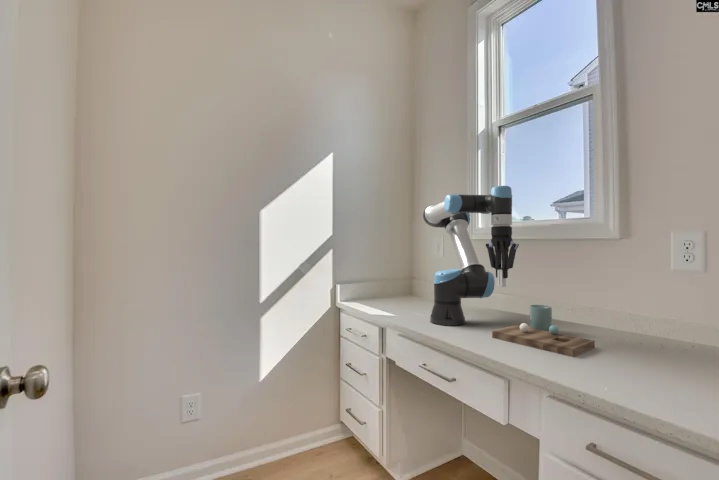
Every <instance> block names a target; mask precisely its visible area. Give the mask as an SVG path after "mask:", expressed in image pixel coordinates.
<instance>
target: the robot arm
mask: <svg viewBox="0 0 719 480" xmlns="http://www.w3.org/2000/svg"><path fill="white" fill-rule="evenodd" d="M512 191H513V190H512V187H511V186H509V185H497V186H493V187H492V188H491V191H490V194H457V193H454V194H447V195H446V196H445V198H444V201H441V202H440V203H438V204H431V205H429V206H427V207H425V208H424V210H423V212H422V218H423V220H424V222H425V224H427V225H428V226H430V227H432V228H444V229H445V232H446V233H447V234H448V235H450V238H451V241H452V244H453V247H454V250H455V254H456V257H457V259H458V260H457V261H458V263H459V266H460V268H453V269H451V268H450V269H443V270H438V271H436V272H435V273H434V277H433V288H434V289H433V294H434V296H433V299H434V300H433V302H434V303H433V306H432V310H431V313H430V315H429V316H430V323H432V324H435V325H439V326H454V327H455V326H462V325H464V324H466V316H465V315H464V314H465V313H464V312H463V308H462V299H483V298H484V299H485V298H490V297H491V295H493V293H494V290H495V286H496V285H495V283H496V282H495V278H497V287H500V288H505V287H507V279H508V278H509V275H508V273H509V272H508V271H509V269H513V268H514V263H515V258H516V252H517V250H518V248H519V247H520V246H519V243H517V242H514V240H513V238H512V237H513V227H512V225H513V215H512V214H513V195H512V194H513V193H512ZM470 214H481V215H482V214H483V215H484V214H485V215H488V214H490V216H491V217H490V218H491V219H490V220H491V222H490V223H491V228H490V231H491V239H490V241H489V243H485V247H486V249H487V253H488V254H487V255H488V258H489V263H490V268H493V269H495V277H494V273H493V272H491V271H486V268H485V265H483V264H482V263H480V262H479V259H478V256H477V254H476V251H475V247H474V245H473V243H472V240H471V237H470V234H469V232H468V227H469V225H470V222H471V217H470V216H471V215H470Z"/></svg>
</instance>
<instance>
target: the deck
mask: <svg viewBox="0 0 719 480" xmlns="http://www.w3.org/2000/svg"><path fill="white" fill-rule="evenodd" d="M491 338H493V339H496V340H501V341H505V342H508V343H509V342H510V343H512V344H513V343H514V344H517V345H522V346H525V347H526V346H527V347H530V348H535V349H537V350H541V351H542V350H543V351H547V352H550V353H556V354H560V355H563V356H567V357H572V358H574V357H577V356H579V355H581V354H584V353H586V352H588V351H590V350H591V351H592V350H593V349H595V348H596V347H595V344H596V343H595V340H593V339H589V338H584V337H578V336H573V335H569V334H568V335H567V334H562V333H559V332H558V333H557V334H551V333H550V331H544V330H538V329H533V328H532V327H529V330H528V331H527V332H522V331H521V330H520V325H518V324H514V325H510V326H506V327H503V328H498V329H494V330H492V331H491Z"/></svg>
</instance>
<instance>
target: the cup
mask: <svg viewBox="0 0 719 480" xmlns="http://www.w3.org/2000/svg"><path fill="white" fill-rule="evenodd" d="M552 322H553V308H552V306H550V305H544V304H530V305H529V323H530V328H533V329H538V330H544V331H549V327H550V326H552V325H553V324H552ZM549 332H550V331H549Z"/></svg>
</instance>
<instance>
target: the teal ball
mask: <svg viewBox="0 0 719 480" xmlns="http://www.w3.org/2000/svg"><path fill="white" fill-rule="evenodd" d="M549 332H550V333H551V334H557V333H559V332H560V329H559V327H558V326H557V325H556V324H555V325H553V324H551V326H550V327H549Z"/></svg>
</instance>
